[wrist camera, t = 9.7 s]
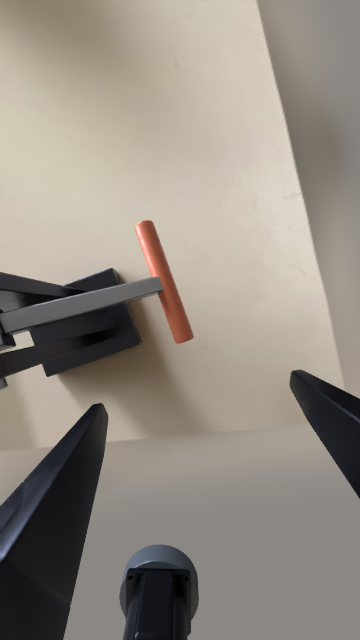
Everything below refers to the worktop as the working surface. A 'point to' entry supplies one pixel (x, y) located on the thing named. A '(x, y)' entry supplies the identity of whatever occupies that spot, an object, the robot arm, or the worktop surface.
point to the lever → (108, 297)
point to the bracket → (66, 326)
